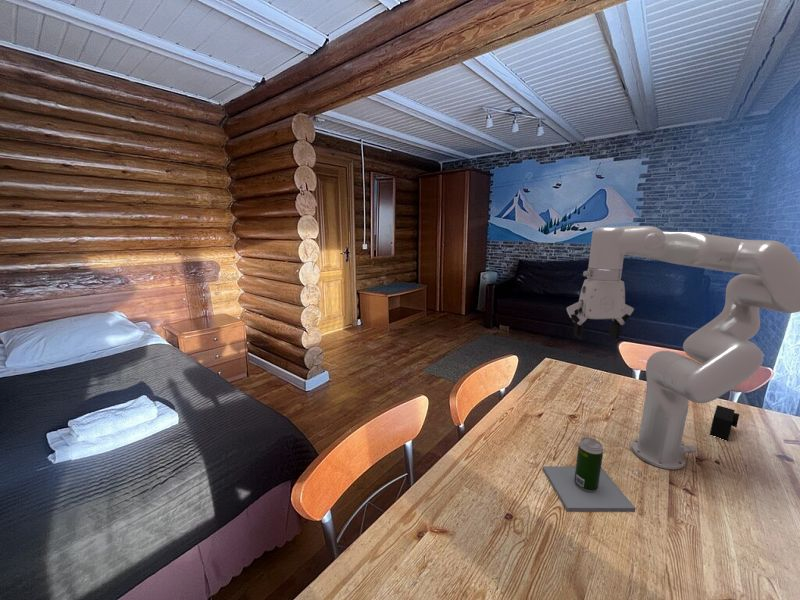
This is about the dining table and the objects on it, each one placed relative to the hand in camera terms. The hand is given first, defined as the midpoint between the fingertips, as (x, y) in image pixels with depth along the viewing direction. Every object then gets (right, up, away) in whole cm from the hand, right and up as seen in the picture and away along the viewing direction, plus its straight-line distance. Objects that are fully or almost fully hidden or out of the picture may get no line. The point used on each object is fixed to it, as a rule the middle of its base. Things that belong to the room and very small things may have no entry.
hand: (596, 337), depth 90 cm
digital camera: (+52, -33, +18) cm, 64 cm away
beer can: (-6, -37, -5) cm, 38 cm away
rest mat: (-6, -38, -5) cm, 39 cm away
